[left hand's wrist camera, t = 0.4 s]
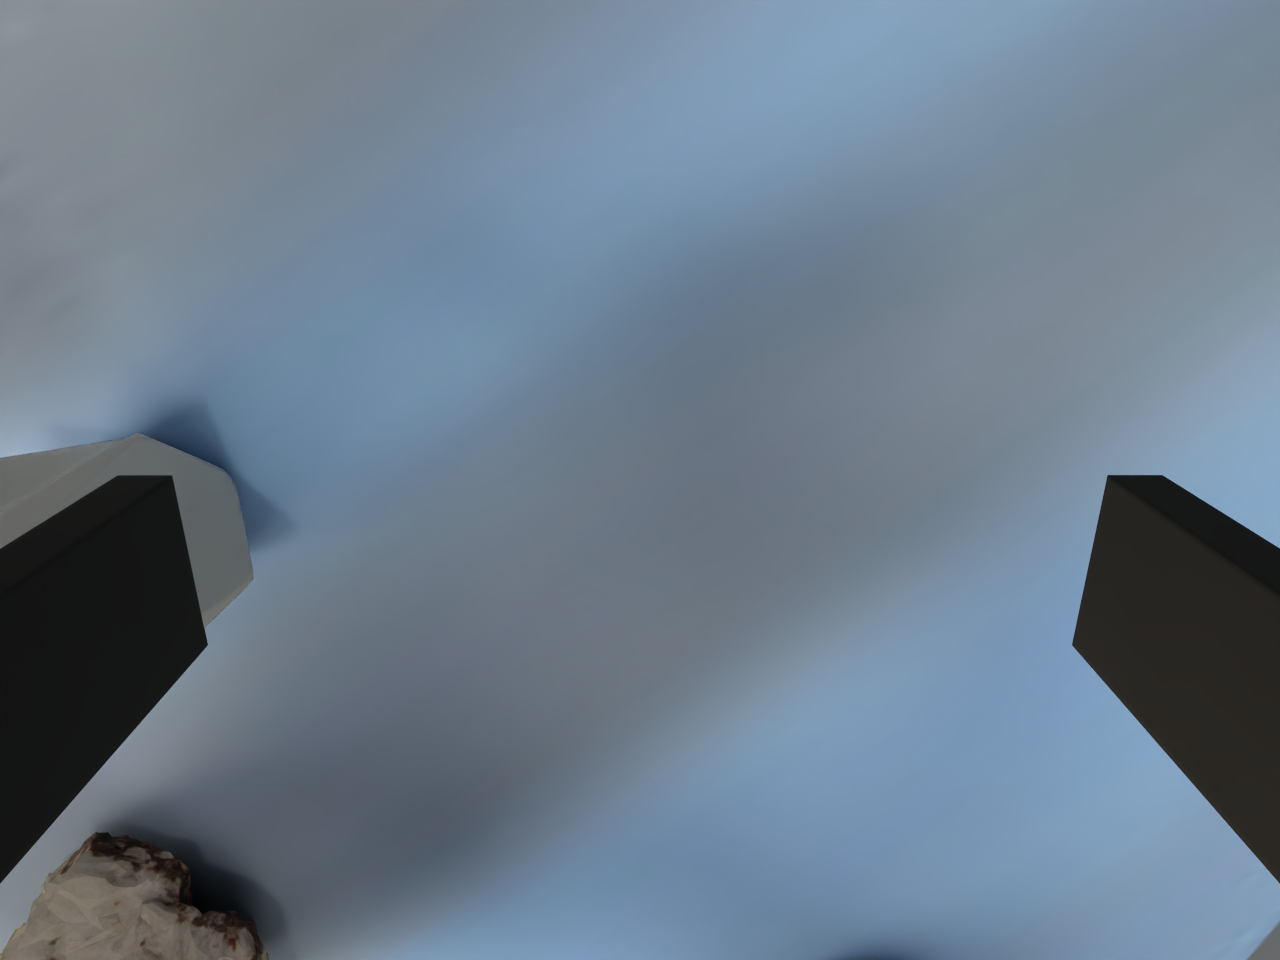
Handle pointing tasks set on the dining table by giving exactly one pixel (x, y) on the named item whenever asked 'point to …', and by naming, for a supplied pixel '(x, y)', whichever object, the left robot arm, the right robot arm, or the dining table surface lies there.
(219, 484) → the vase
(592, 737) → the dining table surface
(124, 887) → the rock
